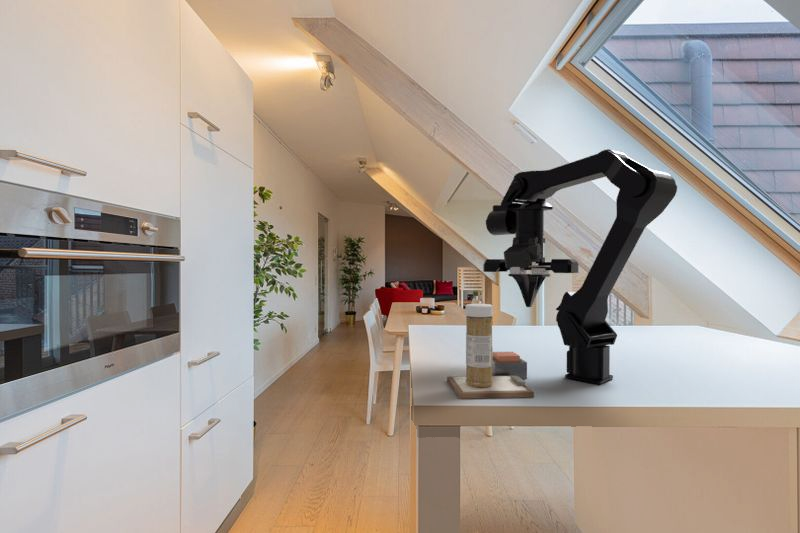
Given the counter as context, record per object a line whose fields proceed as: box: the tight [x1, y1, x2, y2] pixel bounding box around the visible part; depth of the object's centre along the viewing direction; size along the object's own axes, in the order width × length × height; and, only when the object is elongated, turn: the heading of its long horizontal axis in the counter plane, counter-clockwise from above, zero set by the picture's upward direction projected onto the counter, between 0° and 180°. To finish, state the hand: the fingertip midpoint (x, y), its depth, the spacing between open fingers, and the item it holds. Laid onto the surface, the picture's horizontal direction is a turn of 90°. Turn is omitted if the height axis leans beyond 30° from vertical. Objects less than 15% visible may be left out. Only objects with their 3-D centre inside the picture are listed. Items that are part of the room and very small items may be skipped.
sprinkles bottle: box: [464, 303, 494, 387], centre depth 75 cm, size 5×5×14 cm
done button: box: [493, 351, 521, 362], centre depth 85 cm, size 4×4×3 cm
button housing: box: [492, 357, 528, 380], centre depth 85 cm, size 6×6×3 cm
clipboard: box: [446, 375, 535, 400], centre depth 76 cm, size 12×10×2 cm
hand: (528, 306), depth 94 cm, fingers closed
